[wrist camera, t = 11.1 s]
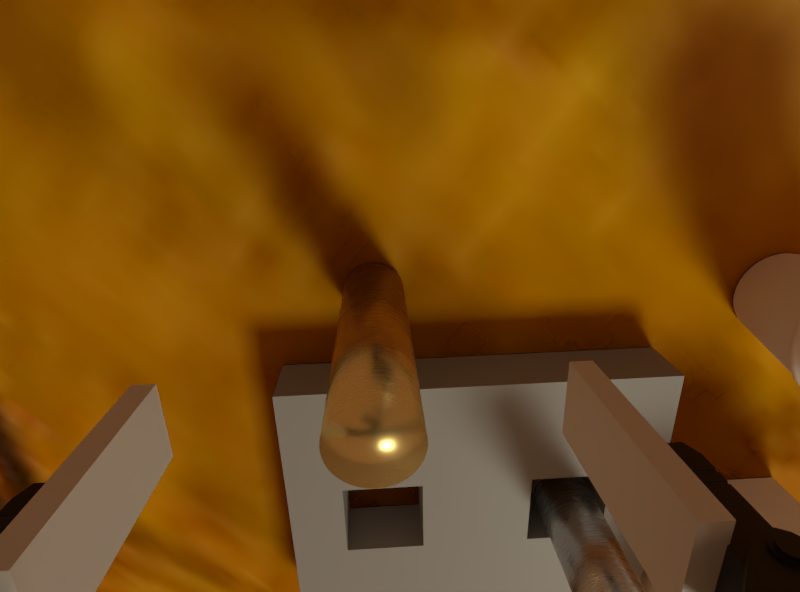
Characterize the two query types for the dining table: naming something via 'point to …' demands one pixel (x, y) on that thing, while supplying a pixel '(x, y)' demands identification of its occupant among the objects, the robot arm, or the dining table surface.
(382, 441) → the brass pin
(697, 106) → the dining table surface
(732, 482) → the block
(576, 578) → the steel pin
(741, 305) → the soft serve ice cream cone
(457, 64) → the dining table surface
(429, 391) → the socket board
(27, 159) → the dining table surface
